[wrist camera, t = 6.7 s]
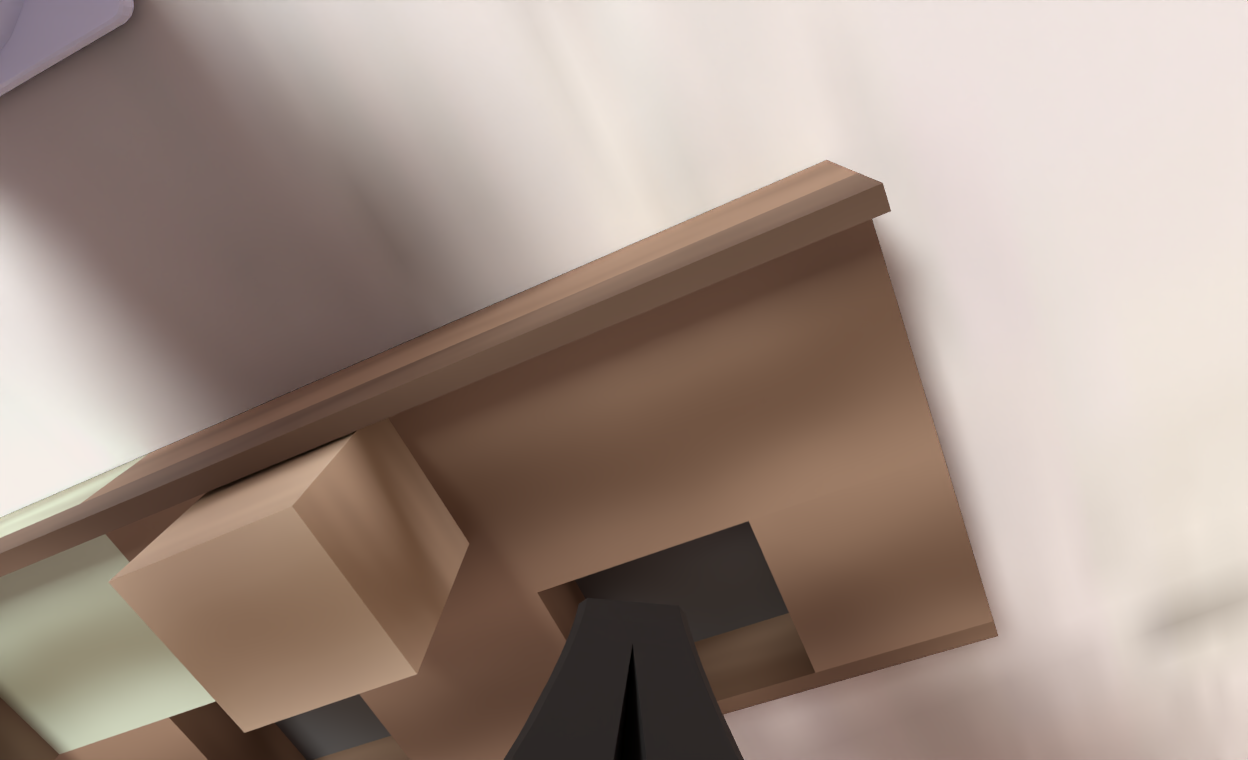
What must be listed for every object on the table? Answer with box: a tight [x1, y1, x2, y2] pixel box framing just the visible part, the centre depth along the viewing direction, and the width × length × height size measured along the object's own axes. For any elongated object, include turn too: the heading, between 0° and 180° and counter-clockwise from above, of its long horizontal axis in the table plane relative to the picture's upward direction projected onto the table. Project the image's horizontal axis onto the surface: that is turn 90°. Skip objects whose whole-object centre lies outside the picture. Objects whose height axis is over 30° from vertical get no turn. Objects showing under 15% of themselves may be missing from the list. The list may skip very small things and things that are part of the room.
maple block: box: [109, 418, 469, 733], centre depth 14 cm, size 4×4×4 cm
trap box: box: [0, 160, 998, 760], centre depth 18 cm, size 12×26×4 cm, turn 114°
